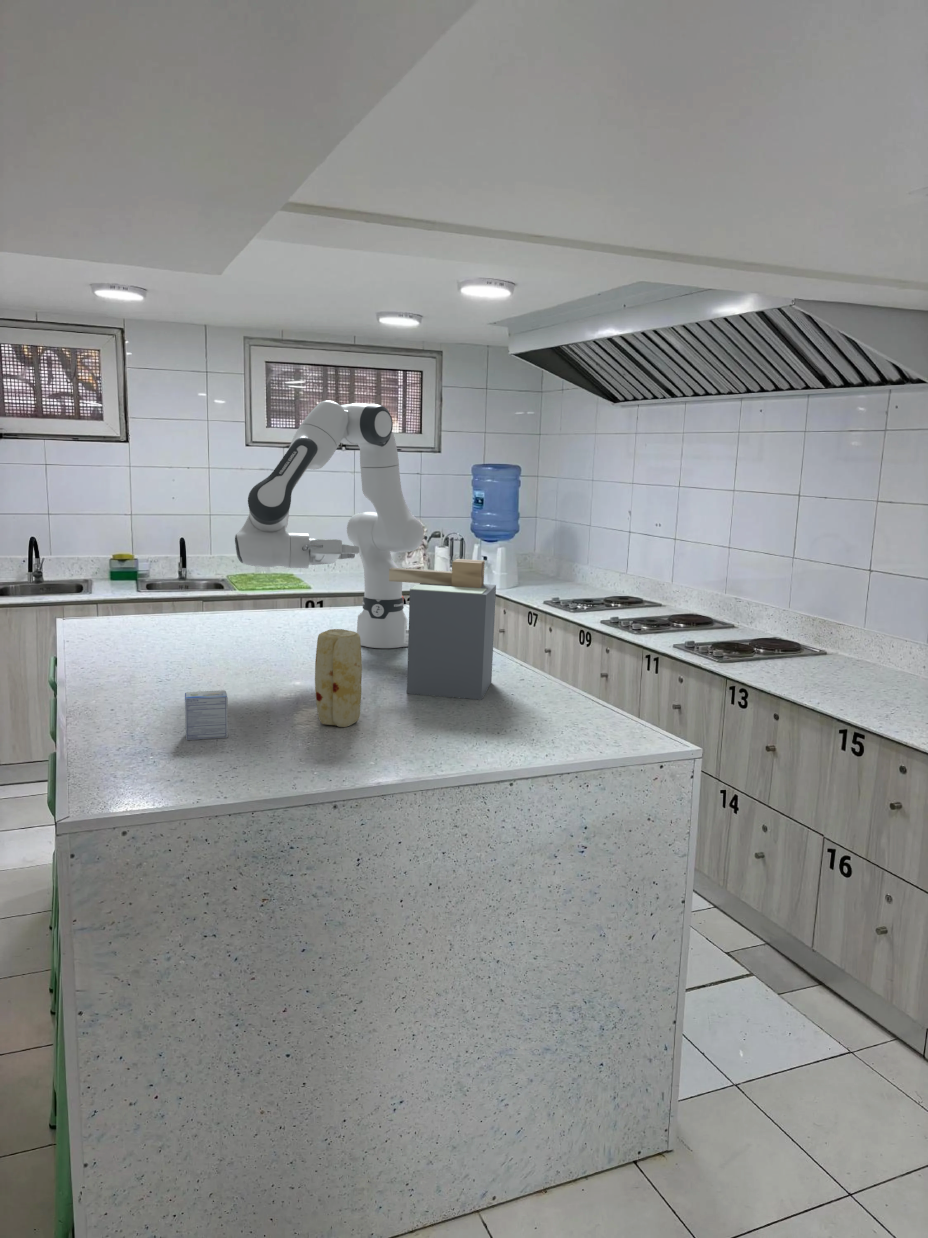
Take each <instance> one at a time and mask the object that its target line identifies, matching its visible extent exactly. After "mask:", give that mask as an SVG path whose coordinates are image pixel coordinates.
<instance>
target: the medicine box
mask: <svg viewBox="0 0 928 1238" xmlns="http://www.w3.org/2000/svg"><path fill="white" fill-rule="evenodd" d="M228 709H229V708H228V693H227V691H226V690H224V689H223V690H222V689H221V690H203V691H186V692H185V693H184V710H185V711H184V717H185V718H184V719H185V720H184V721H185V740H186V741H194V740H196V741H197V740H211V739H225V738H227V739H228V738H229V723H228V717H229V715H228V714H229V713H228Z"/></svg>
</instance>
